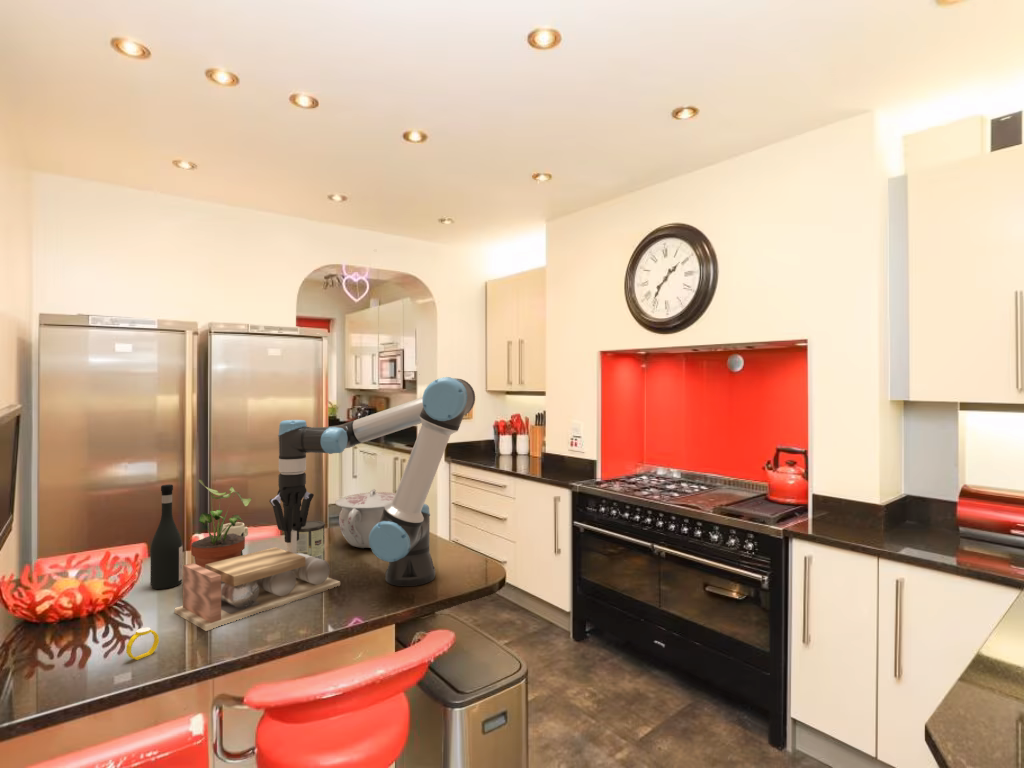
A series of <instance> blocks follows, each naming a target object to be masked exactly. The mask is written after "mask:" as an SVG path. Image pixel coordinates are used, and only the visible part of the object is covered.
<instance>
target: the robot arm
mask: <svg viewBox="0 0 1024 768" xmlns="http://www.w3.org/2000/svg"><path fill="white" fill-rule="evenodd" d="M475 393H476V392H475V390H474V388H473V386H472V385H471V384H470V383H469V382H468V381H466V380H464V379H462V378H455V377H449V376H446V377H440V378H439V377H438V378H437V379H435V380H433V381H432V382H430V383H429V384H428V385H427V386H426V388H425V389H424V391H423V395H422V397H419V398H416V399H413V400H410V401H407V402H404V403H402V404H399V405H396V406H393V407H392V406H391V407H390V408H387V409H384V410H381V411H378V412H376V413H371V414H370V415H366V416H363V417H361V418H357V419H355V420H352V421H348V422H345V423H343V424H338V425H331V426H319V427H316V426H313V427H312V426H308V425H307V421H306V420H304V419H287V420H286V419H284V420H281V421H280V422H279V427H278V428H279V429H278V435H277V436H278V472H279V474H278V476H277V477H278V481H277V482H278V485H277V486H278V491H277V492H276V494H277V495H276V496H275V497H274V498H270V499H269V503H270V505H271V506H272V509H273V513H274V517H275V521H276V525H277V529H278V530H279V531H282V532H284V542H285V543H286V551H288V552H291V553H297V541H298V540H299V531H300V530H301V527H304V526H305V525H306V521H307V520H308V516H309V510H310V505H311V502H312V500H313V498H314V493H311V492H308V491H307V487H306V484H307V473H306V471H307V453H308V454H309V453H313V454H314V453H315V454H316V453H319V454H329V455H333V454H341V453H343V452H344V451H345V449H350V448H353V447H355V446H357V445H360V444H362V443H365V442H369V441H371V440H375V439H378V438H380V437H384V436H386V435H390V434H393V433H395V432H399V431H401V430H405V429H409V428H411V427H414V426H417V425H420V424H421V426H420V429H419V432H418V434H417V437H416V440H415V442H414V444H413V448H412V449H411V451H410V454H409V457H408V460H407V463H406V465H405V467H404V471H403V473H402V475H401V479H400V482H399V484H398V486H397V488H396V489H397V490H396V491H395V493H396V494H395V496H394V499H393V501H392V502H390V503H388V504H386V505H385V507H384V510H383V513H382V515H381V518H380V520H379V523H377V524H376V525H375V526H374V527H373V529H372V530H371V532H370V535H369V545H370V548H371V549H370V550H371V552H372V553H373V555H374V556H375V557H377V559H380V560H381V561H384V562H387V563H388V567H387V568H386V571H385V581H386V583H388V584H390V585H392V586H397V587H414V586H420V585H425V584H427V583H430V582H432V581H433V580H435V578H436V568H435V565H434V563H433V558H432V556H431V553H430V552H431V551H430V539H431V537H430V533H431V532H430V530H431V529H430V526H431V525H430V519H431V518H430V516H431V513H430V506H429V505H428V504H426V503H425V502H426V499H427V497H428V494H429V492H430V490H431V487H432V484H433V481H434V479H435V477H436V474H437V472H438V468H439V466H440V463H441V461H442V458H443V456H444V452H445V450H446V448H447V445H448V442H449V441H450V437H451V435H453V434H455V433H457V432H459V429H460V427H461V423H462V421H463V420H464V416H466V415H467V414H469V413H470V412H471V411H472V409H473V408H474V405H475V402H476V394H475ZM281 503H282V505H281ZM282 507H283V509H282ZM292 529H293V530H292Z"/></svg>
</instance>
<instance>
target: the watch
mask: <svg viewBox="0 0 1024 768" xmlns="http://www.w3.org/2000/svg"><path fill="white" fill-rule="evenodd" d="M150 633H151V634H152V635H153V643H152V645H151V648H149V649H148V651H147V652H144V653H142V654H140V655H136V656H134V655H133V653H132V647H133V644H134V643H135V640H137V638H139V637H140V636H146V635H148V634H150ZM159 643H160V637H159V634H158V633H157V632H156V631H154V630H152V629H151V627H141V628H138V629H137V630H135V633H134V634H133V635H132V636H131V637H130V638H129V640H128V642H127V643H126V647H125V648H126V651H125V652H126V655H127V656H128V657H129V658H130V659H132V660H136V661H138V660H140V659H143V658H147V657H149V656H151V655H152V654H154V652H155V651H156V650H157V647H158V645H159Z"/></svg>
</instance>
